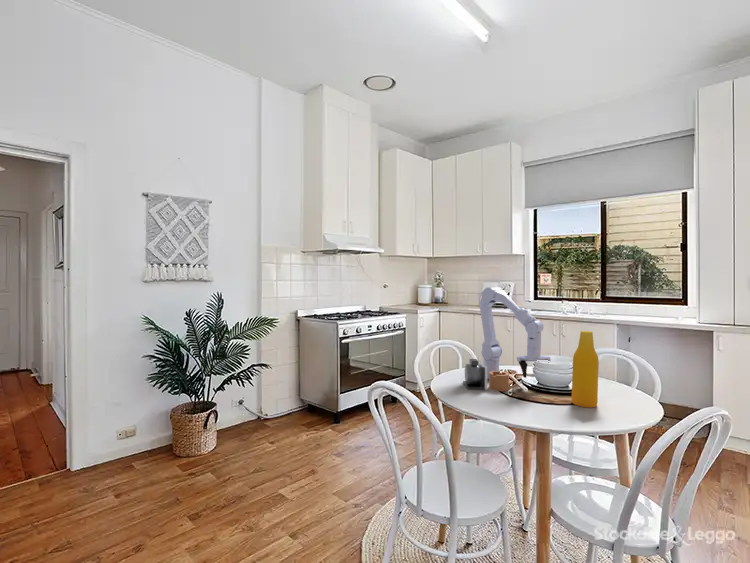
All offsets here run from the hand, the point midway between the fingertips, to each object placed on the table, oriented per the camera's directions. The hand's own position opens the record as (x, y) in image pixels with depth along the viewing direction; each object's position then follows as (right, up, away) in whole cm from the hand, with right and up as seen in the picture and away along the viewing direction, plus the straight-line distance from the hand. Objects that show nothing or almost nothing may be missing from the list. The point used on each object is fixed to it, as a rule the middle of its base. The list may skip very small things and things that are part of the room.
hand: (533, 377), depth 188 cm
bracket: (-13, -5, +1) cm, 14 cm away
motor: (-27, -4, 0) cm, 27 cm away
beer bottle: (+12, -6, -23) cm, 26 cm away
